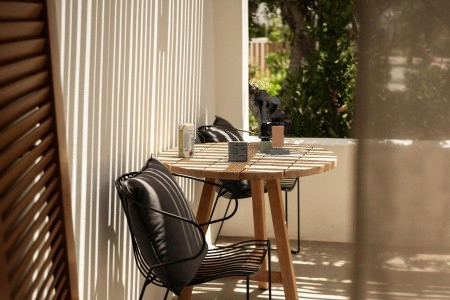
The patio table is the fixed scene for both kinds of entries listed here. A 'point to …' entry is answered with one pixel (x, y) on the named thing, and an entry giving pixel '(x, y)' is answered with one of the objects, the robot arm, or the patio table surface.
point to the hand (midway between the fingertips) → (278, 135)
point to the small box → (237, 151)
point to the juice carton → (186, 140)
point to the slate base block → (278, 151)
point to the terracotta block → (277, 136)
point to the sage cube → (264, 146)
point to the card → (299, 150)
